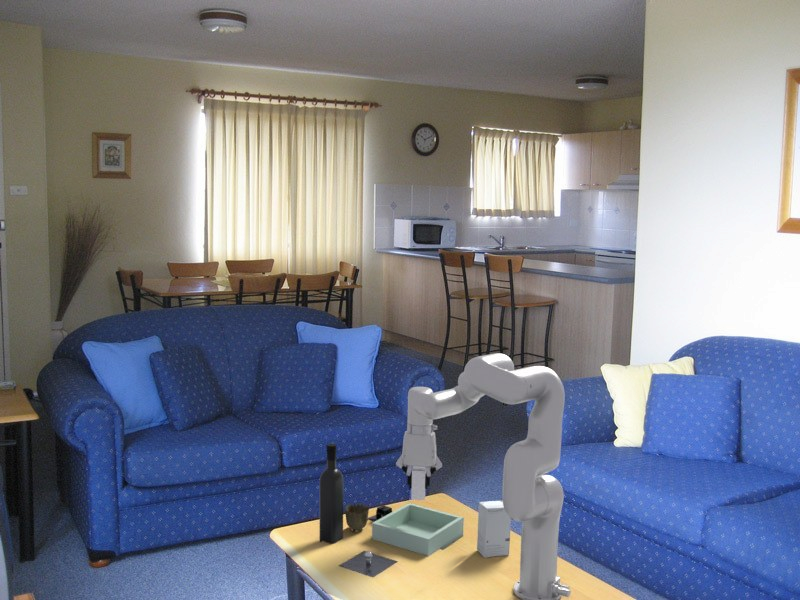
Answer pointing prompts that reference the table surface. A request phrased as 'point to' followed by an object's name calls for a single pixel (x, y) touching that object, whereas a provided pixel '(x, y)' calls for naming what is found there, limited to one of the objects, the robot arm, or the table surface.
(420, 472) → the strut
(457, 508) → the table surface
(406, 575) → the table surface
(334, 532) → the wine bottle
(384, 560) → the stud plate
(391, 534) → the bin
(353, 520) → the cup
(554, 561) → the robot arm
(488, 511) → the skincare box
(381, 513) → the black slotted box
